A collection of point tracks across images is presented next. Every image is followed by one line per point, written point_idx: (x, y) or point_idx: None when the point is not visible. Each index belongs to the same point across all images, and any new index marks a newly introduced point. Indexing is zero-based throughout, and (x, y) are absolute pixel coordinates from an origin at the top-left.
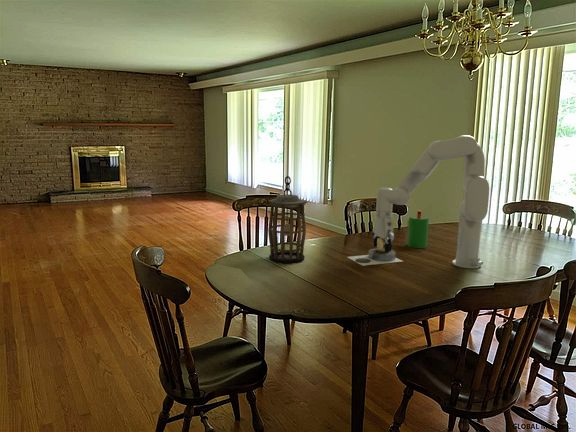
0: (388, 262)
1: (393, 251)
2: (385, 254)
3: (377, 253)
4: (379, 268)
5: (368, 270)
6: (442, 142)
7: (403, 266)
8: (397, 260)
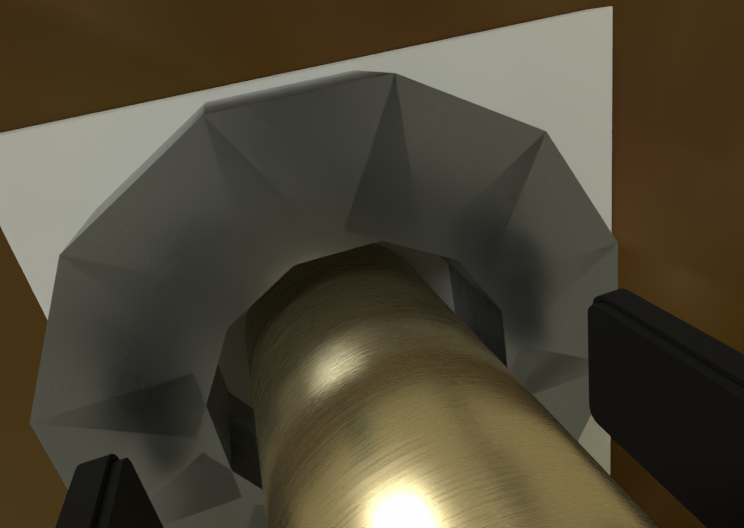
0: None
1: (393, 123)
2: (571, 368)
3: None
4: None
5: (679, 516)
6: None
7: (711, 91)
8: (549, 107)
